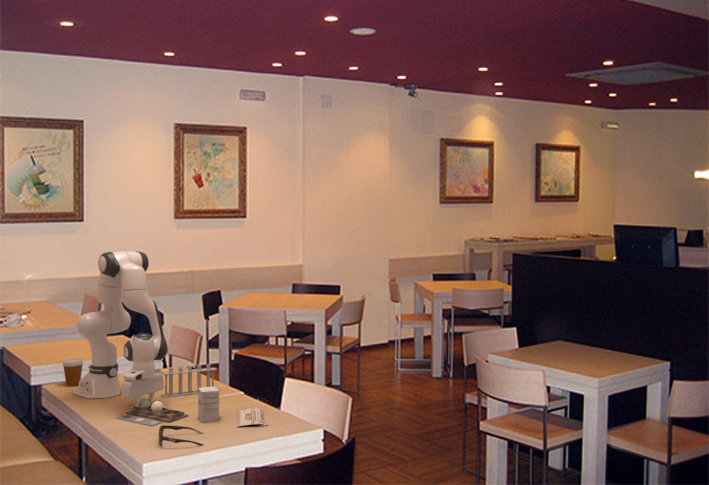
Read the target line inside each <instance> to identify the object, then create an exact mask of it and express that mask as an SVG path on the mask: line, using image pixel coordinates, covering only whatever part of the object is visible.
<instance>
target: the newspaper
mask: <svg viewBox="0 0 709 485" xmlns="http://www.w3.org/2000/svg"><path fill="white" fill-rule="evenodd" d="M263 412H264V411H263V409H262V408H259V407H258V408H247V409H241V410H238V411H237V420H236V421H237V422H236V428H239V427H244V426H251V425H257V427H259V428H262V427H264V426H268V425H269V424H268V421H267V418H266V415H265V414H264V413H263Z"/></svg>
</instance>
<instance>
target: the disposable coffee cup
mask: <svg viewBox="0 0 709 485" xmlns="http://www.w3.org/2000/svg"><path fill="white" fill-rule="evenodd" d="M62 362H63V363H62V367H63V373H64V379H65V386H66V387H68V388H69V387H70V388H71V387H79V381H80V380H81V379H82V372H83V365H84V360H83V359H82V358H81V359H80V358H69V359H65V360H63V361H62Z"/></svg>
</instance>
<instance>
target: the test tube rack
mask: <svg viewBox="0 0 709 485" xmlns="http://www.w3.org/2000/svg"><path fill="white" fill-rule="evenodd" d="M196 366H197V368H196V369H193V367H192V365H188V366H187V369H185V370H183V366H178V370H175V371H174V368H173V367H169V368H168V371H165V372H164V371H162V375H163V376H164V379H165V380H164V390H165V392H164V393H162V394H161V396H162V398H164V399H168V398H176V397H185V396H186V397H187V396H193V395H194V396H195V395H198V388H202V372H206V386H205V387H215V385H214V384H215V379H214V378H215V377H214V376H215V374H214V372H215V371H218V369H217V368H216V367H211V364H210V363H208V364H206V367H205V368H202V365H201V364H197V365H196ZM193 373H197V375H196V376H197V378H196V379H197V383H196V387H197V388H196V389H197V390H192V389H193ZM183 374H187V391H183ZM174 375H178V392H174ZM168 376H169V377H168Z"/></svg>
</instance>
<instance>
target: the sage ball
mask: <svg viewBox="0 0 709 485" xmlns="http://www.w3.org/2000/svg"><path fill="white" fill-rule="evenodd" d="M139 402H141V406H140V407H138V408H139V409H141V410H145V409H148V408H149V407H150V405H151V403H150V402H149V400H148V398H145V397H144V398H141V399H140V400H139Z"/></svg>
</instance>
